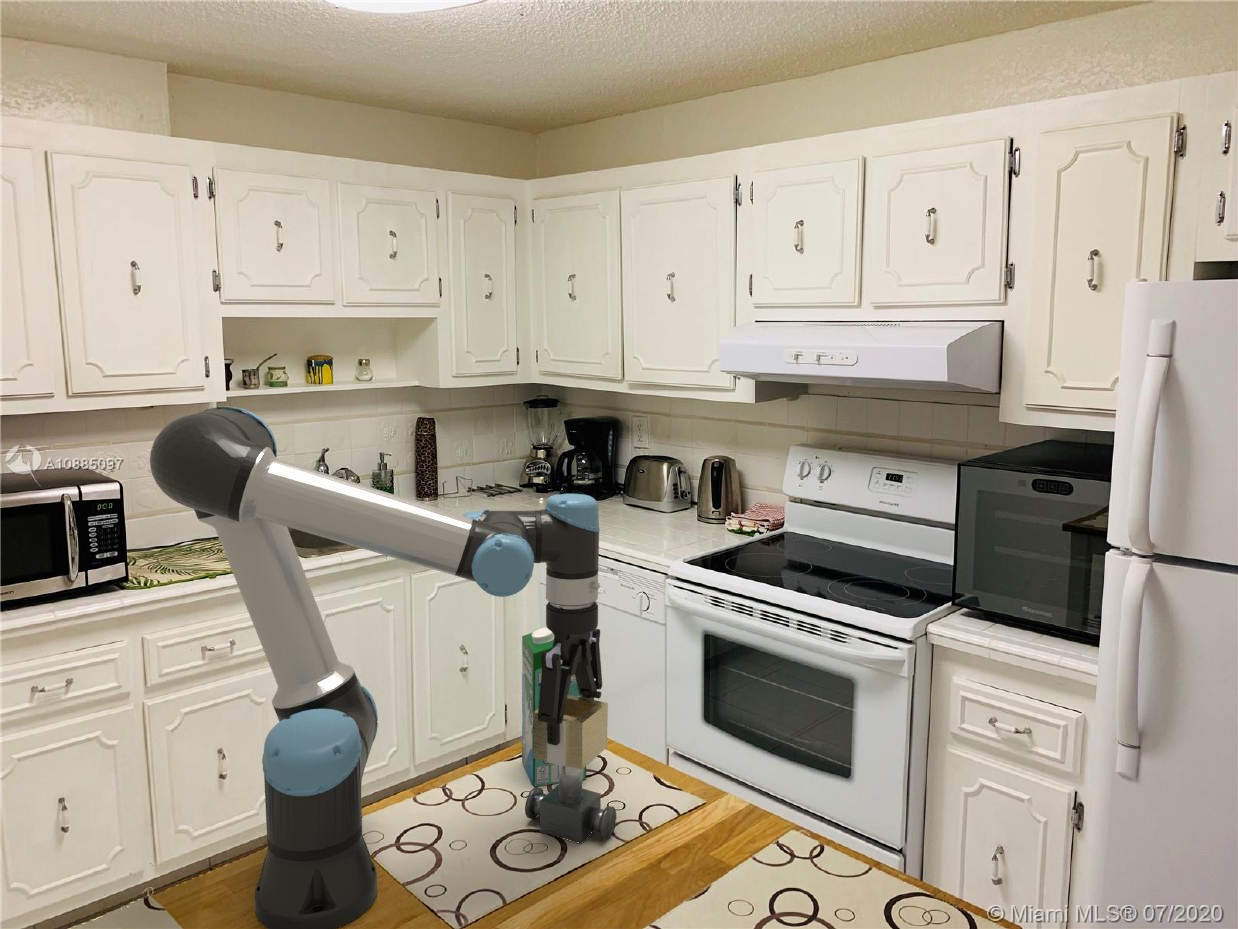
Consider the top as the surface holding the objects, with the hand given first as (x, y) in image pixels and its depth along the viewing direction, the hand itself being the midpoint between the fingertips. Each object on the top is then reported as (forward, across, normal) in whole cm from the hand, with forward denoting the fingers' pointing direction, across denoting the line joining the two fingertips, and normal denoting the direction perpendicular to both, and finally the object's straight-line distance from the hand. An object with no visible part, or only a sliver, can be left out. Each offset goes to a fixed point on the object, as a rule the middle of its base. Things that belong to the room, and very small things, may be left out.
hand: (571, 751), depth 135 cm
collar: (0, 0, 0) cm, 0 cm away
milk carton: (+12, +15, +11) cm, 22 cm away
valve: (+12, 0, 0) cm, 12 cm away
